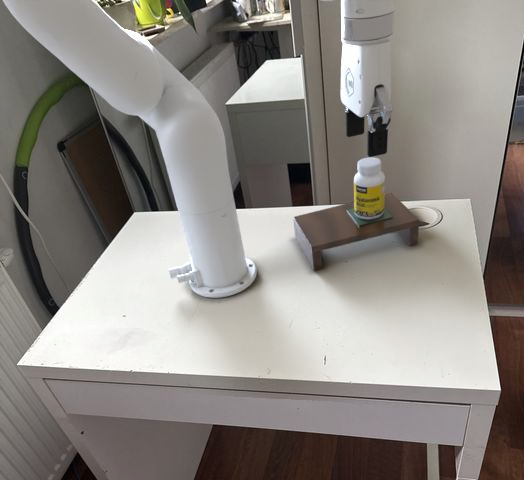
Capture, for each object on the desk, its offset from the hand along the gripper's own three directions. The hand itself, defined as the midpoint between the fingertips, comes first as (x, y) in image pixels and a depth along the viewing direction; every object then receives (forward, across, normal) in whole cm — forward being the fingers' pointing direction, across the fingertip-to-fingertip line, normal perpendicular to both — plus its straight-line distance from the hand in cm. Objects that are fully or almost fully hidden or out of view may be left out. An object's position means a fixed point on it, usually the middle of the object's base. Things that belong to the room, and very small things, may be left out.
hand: (365, 144), depth 88 cm
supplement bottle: (+13, 0, +1) cm, 13 cm away
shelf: (+18, 0, -2) cm, 18 cm away
